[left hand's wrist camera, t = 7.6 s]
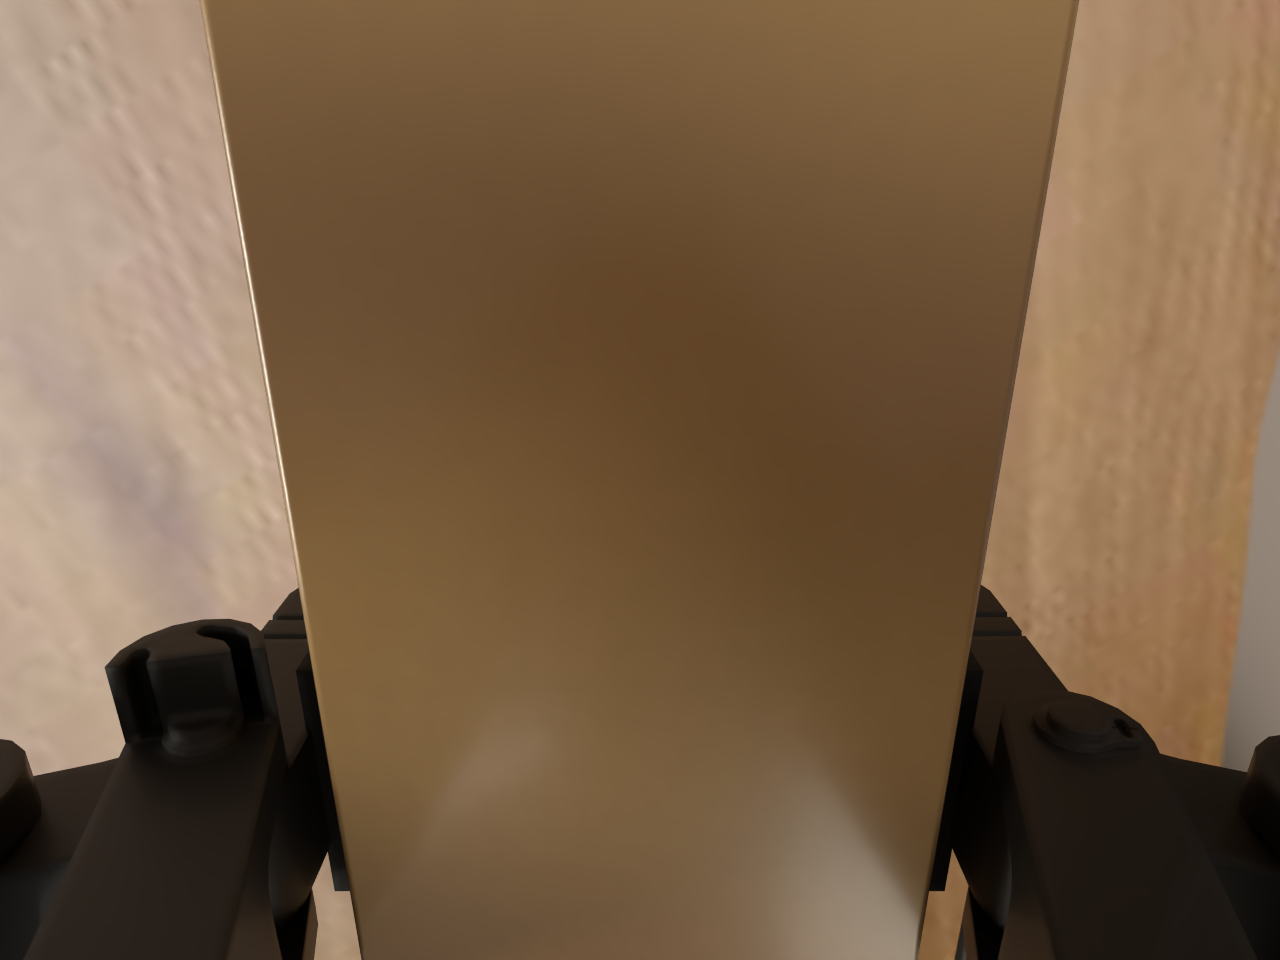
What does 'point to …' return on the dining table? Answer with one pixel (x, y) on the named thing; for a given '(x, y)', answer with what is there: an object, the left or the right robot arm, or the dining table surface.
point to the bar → (639, 443)
